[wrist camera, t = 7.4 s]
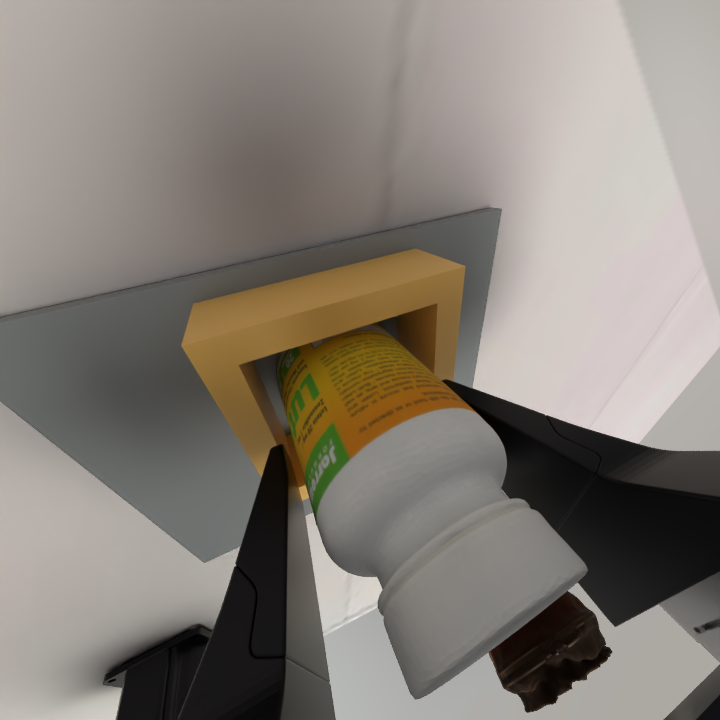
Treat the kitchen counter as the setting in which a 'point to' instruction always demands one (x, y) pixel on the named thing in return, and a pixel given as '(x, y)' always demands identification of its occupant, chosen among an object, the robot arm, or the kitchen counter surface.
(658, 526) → the robot arm
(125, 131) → the kitchen counter surface
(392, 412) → the supplement bottle
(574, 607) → the coffee cup
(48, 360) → the slate board
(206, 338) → the orange collar
